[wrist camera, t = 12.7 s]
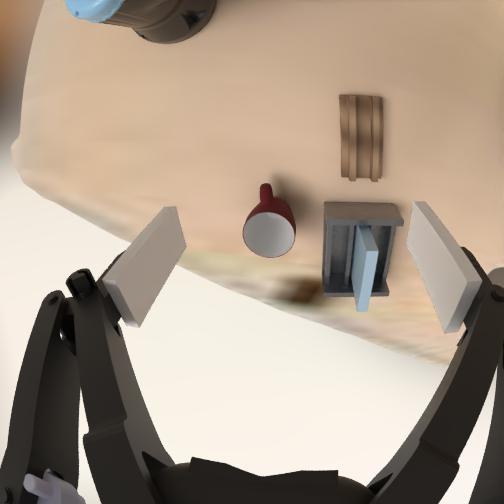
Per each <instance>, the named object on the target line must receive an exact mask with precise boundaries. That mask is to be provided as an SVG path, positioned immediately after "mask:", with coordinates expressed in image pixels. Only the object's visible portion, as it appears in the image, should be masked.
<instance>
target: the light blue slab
mask: <svg viewBox="0 0 504 504" xmlns="http://www.w3.org/2000/svg"><path fill="white" fill-rule="evenodd" d="M377 258H378V248H377V246H376V243H375V240H374V238H373V235H372V233H371V230H370V228H369V225H354V236H353V247H352V257H351V266H350V274H351V279H352V285H353V291H354V297H355V303H356V309H357V312H359V311H367V309H368V305H369V300H370V295H371V290H372V285H373V280H374V275H375V269H376V264H377Z"/></svg>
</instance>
